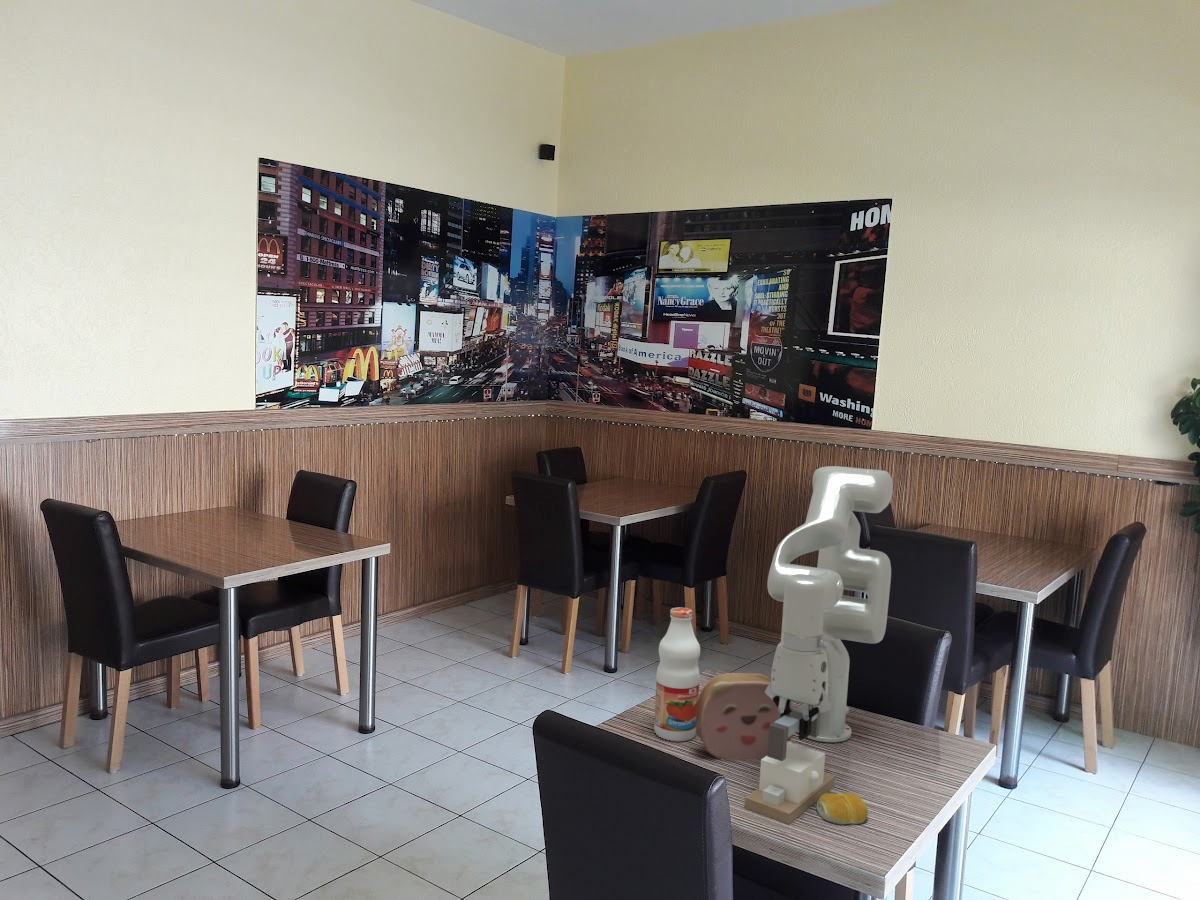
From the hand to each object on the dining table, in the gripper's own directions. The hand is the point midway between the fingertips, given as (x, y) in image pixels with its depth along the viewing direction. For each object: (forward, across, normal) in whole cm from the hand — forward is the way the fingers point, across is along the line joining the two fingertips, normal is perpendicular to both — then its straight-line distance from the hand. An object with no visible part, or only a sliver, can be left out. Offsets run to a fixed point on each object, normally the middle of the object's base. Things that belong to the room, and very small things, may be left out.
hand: (794, 734), depth 176 cm
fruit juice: (+13, +32, -10) cm, 36 cm away
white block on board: (+12, 0, 0) cm, 13 cm away
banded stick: (+2, 0, 0) cm, 2 cm away
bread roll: (+13, -10, 0) cm, 16 cm away
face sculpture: (+13, +16, -11) cm, 23 cm away
